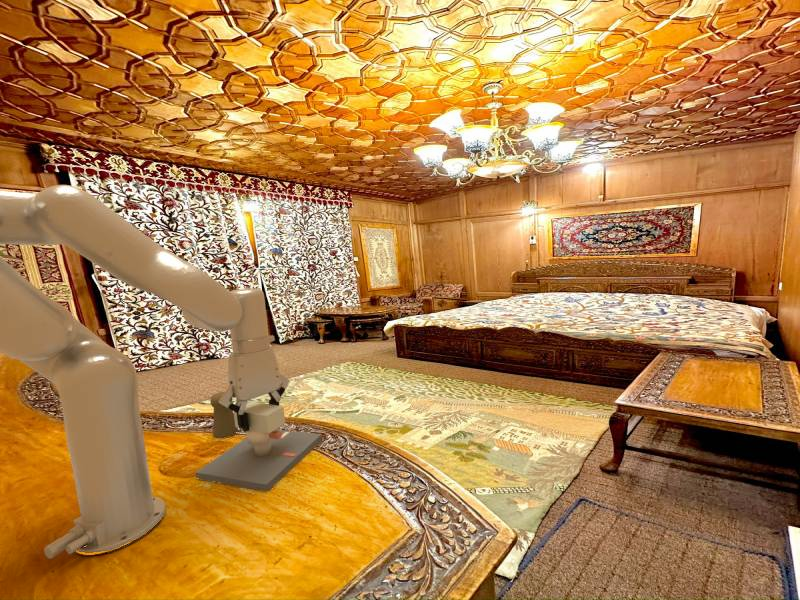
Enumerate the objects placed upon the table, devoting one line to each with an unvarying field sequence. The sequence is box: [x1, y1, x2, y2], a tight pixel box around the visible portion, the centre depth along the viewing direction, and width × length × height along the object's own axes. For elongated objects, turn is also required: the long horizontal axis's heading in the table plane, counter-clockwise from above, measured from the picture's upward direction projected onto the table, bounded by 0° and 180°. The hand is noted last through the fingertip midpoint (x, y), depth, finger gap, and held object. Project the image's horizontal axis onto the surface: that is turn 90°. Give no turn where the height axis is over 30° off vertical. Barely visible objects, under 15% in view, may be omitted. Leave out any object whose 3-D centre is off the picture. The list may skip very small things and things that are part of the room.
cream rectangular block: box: [233, 401, 286, 445], centre depth 80 cm, size 10×6×7 cm, turn 65°
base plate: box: [195, 428, 323, 493], centre depth 80 cm, size 20×18×4 cm
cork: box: [210, 391, 239, 439], centre depth 94 cm, size 6×6×11 cm
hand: (260, 422), depth 80 cm, fingers closed on cream rectangular block, 6 cm apart
